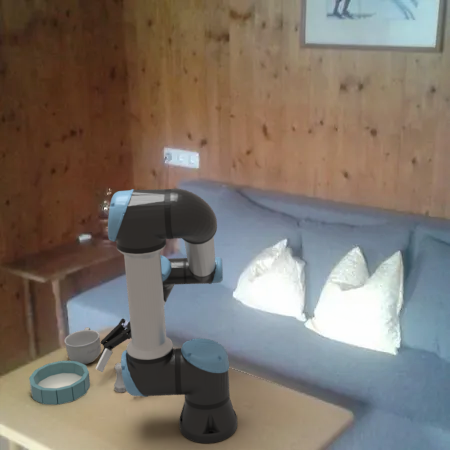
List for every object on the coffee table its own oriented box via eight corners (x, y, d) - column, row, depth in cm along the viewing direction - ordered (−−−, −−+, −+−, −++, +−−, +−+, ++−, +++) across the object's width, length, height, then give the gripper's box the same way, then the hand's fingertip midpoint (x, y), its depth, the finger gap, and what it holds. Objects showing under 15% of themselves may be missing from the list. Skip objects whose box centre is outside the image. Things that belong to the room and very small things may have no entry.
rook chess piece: (111, 391, 191) (108, 367, 189) (118, 383, 195) (116, 359, 193) (125, 394, 190) (122, 369, 187) (132, 386, 194) (130, 361, 191)
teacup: (94, 369, 203) (91, 346, 201) (61, 366, 206) (58, 343, 203) (110, 347, 216) (108, 325, 214) (79, 345, 218) (76, 323, 216)
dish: (101, 384, 195) (99, 371, 194) (56, 411, 182) (55, 396, 181) (64, 368, 204) (62, 355, 203) (19, 392, 192) (18, 379, 191)
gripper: (186, 325, 192) (154, 394, 185) (125, 305, 206) (93, 369, 199) (173, 315, 186) (139, 386, 179) (111, 295, 200) (77, 360, 194)
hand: (115, 377), depth 189 cm, fingers open, 13 cm apart
